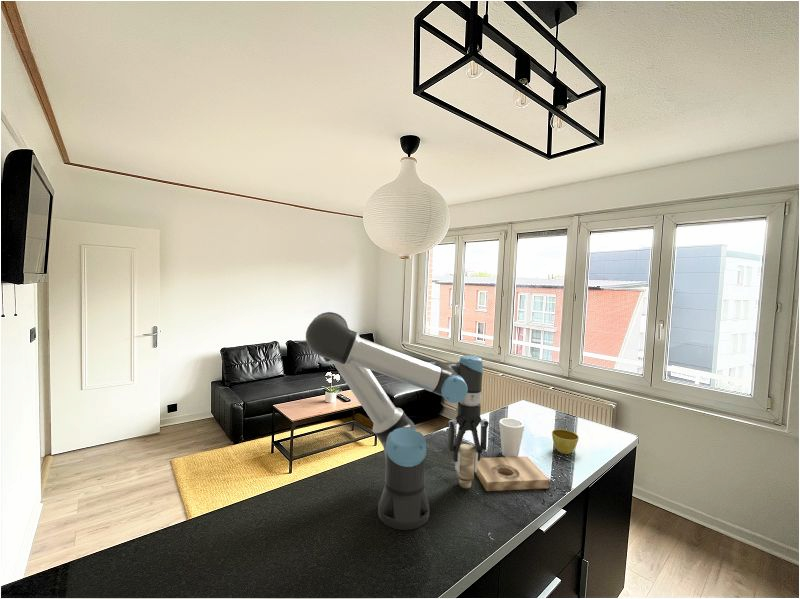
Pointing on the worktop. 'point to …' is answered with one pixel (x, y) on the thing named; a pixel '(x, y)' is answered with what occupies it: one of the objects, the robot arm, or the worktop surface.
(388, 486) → the robot arm
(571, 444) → the yellow bowl
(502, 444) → the foam cup
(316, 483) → the worktop surface
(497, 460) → the board
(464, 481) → the peg
